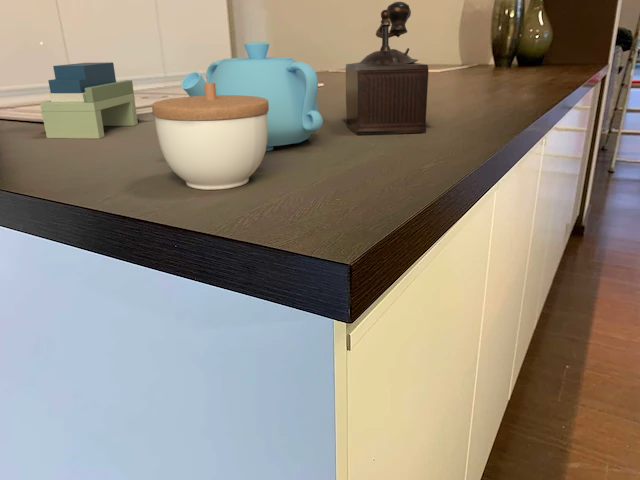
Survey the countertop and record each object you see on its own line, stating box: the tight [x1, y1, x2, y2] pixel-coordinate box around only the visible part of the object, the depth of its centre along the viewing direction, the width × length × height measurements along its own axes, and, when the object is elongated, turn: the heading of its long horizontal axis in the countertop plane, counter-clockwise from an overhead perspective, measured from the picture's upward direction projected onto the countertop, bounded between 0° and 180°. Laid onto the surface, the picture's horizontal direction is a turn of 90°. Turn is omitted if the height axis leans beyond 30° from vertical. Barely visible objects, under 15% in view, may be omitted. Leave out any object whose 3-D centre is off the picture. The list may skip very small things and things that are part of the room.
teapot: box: [180, 41, 324, 152], centre depth 68 cm, size 20×20×13 cm
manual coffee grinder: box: [345, 1, 429, 135], centre depth 81 cm, size 16×11×18 cm
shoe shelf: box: [39, 79, 139, 140], centre depth 82 cm, size 8×13×7 cm, turn 174°
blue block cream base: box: [47, 61, 117, 102], centre depth 80 cm, size 11×5×5 cm, turn 174°
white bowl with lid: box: [151, 83, 269, 191], centre depth 51 cm, size 11×11×9 cm
